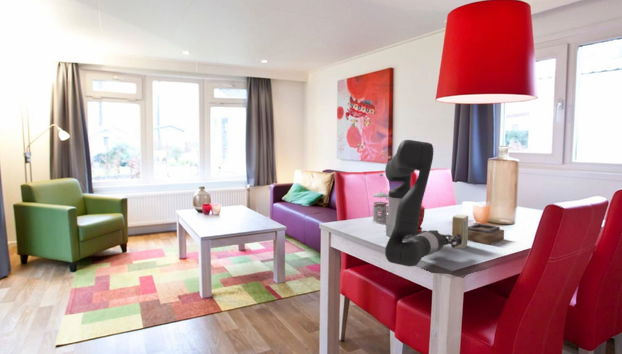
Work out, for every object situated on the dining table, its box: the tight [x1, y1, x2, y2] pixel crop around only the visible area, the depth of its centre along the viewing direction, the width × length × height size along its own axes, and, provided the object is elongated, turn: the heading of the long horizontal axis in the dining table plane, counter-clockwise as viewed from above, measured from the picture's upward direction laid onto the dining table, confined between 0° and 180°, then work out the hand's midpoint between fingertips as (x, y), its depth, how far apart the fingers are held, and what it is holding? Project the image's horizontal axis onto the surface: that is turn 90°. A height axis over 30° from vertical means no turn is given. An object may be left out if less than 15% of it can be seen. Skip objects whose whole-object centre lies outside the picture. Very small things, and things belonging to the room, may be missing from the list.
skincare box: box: [451, 214, 469, 250], centre depth 148 cm, size 6×4×12 cm
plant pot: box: [416, 205, 425, 234], centre depth 174 cm, size 13×13×12 cm
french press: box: [371, 173, 389, 224], centre depth 195 cm, size 10×12×25 cm
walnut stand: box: [468, 223, 505, 246], centre depth 159 cm, size 12×13×5 cm
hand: (447, 234), depth 140 cm, fingers open, 8 cm apart
